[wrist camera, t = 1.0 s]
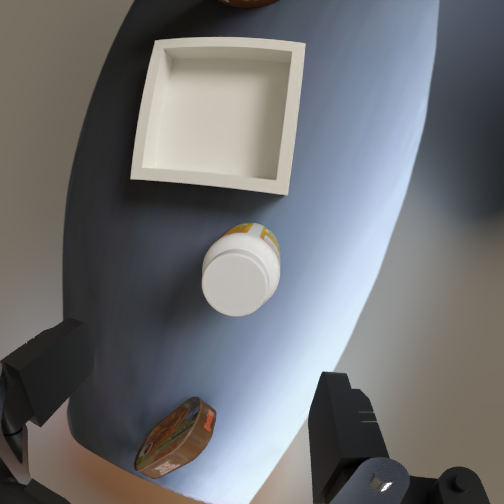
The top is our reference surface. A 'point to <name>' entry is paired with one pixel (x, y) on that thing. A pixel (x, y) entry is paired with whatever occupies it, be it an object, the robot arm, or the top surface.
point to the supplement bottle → (241, 270)
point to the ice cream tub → (247, 3)
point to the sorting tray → (220, 113)
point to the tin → (176, 439)
